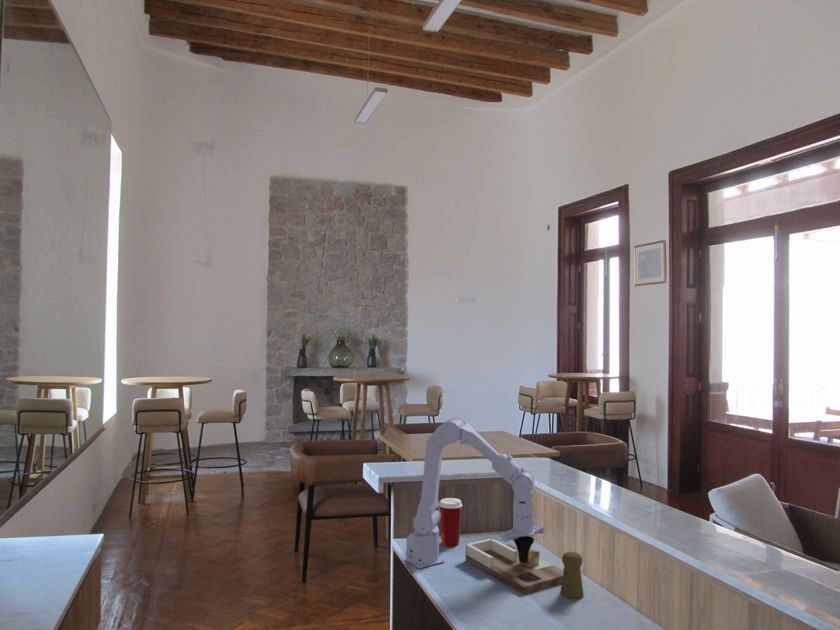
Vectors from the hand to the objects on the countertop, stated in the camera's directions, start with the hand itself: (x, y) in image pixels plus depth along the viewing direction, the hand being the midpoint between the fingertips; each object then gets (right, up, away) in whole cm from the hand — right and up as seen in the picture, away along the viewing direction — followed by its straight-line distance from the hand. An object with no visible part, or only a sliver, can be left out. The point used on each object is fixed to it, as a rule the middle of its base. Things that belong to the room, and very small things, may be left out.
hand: (523, 561), depth 179 cm
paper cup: (-20, -3, +23) cm, 30 cm away
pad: (+4, -3, +2) cm, 6 cm away
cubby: (-9, -1, +6) cm, 11 cm away
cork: (+11, -3, -14) cm, 18 cm away
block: (+2, -1, +1) cm, 3 cm away
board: (-2, -3, +2) cm, 4 cm away
